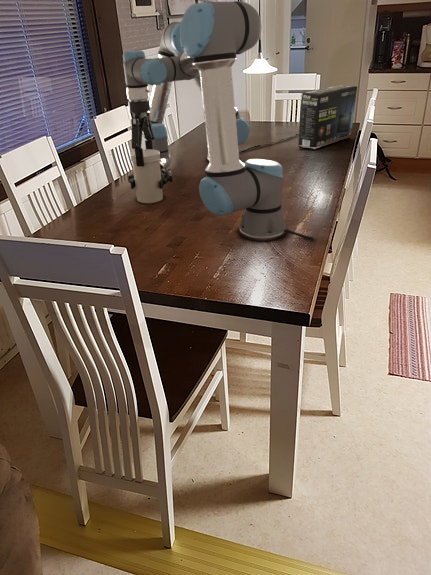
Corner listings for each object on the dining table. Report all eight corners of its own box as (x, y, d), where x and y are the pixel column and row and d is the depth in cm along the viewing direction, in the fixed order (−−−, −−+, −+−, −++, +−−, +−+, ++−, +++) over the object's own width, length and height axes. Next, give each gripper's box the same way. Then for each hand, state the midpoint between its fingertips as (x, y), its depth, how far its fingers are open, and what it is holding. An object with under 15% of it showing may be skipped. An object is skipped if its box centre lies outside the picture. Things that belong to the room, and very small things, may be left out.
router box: (314, 151, 231) (318, 94, 217) (296, 148, 237) (299, 92, 224) (352, 138, 251) (358, 85, 238) (335, 135, 258) (340, 83, 245)
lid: (160, 162, 169) (160, 155, 168) (130, 164, 168) (129, 157, 166) (159, 154, 178) (159, 148, 177) (131, 156, 177) (130, 150, 176)
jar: (139, 204, 175) (133, 159, 166) (135, 196, 184) (129, 152, 175) (165, 201, 178) (161, 156, 169) (160, 192, 186) (156, 149, 177)
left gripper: (184, 176, 194) (176, 194, 175) (131, 177, 196) (118, 195, 177) (183, 158, 190) (175, 175, 171) (129, 159, 192) (115, 176, 173)
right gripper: (137, 105, 152) (145, 171, 163) (158, 94, 171) (163, 153, 182) (116, 105, 153) (125, 170, 164) (139, 94, 173) (146, 153, 184)
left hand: (146, 185), depth 174 cm, fingers closed on jar, 10 cm apart
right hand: (145, 161), depth 173 cm, fingers closed on lid, 11 cm apart
